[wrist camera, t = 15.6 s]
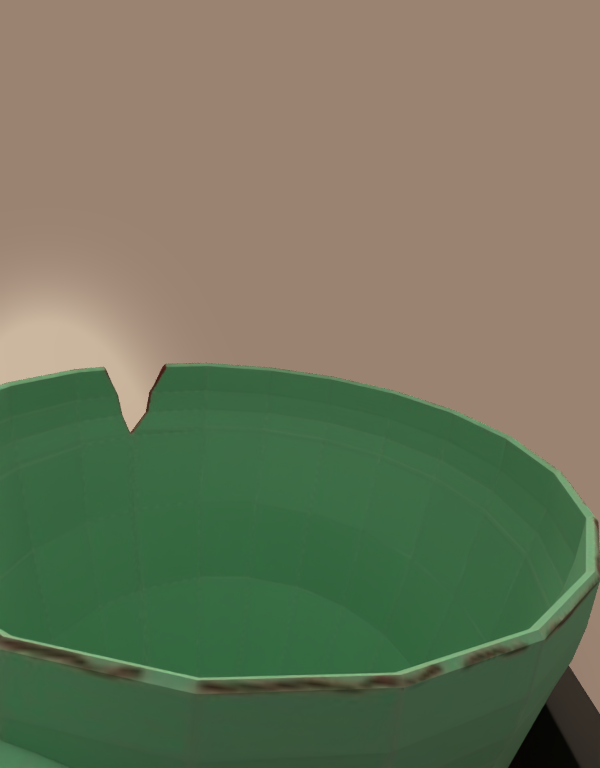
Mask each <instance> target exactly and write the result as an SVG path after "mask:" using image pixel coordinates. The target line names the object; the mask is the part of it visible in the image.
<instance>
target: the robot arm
mask: <svg viewBox="0 0 600 768" xmlns="http://www.w3.org/2000/svg"><path fill="white" fill-rule="evenodd" d="M508 768H600V714H599V712H598V711H597V709H596V707H595V706H594V704H593V703H592V701H591V700H590V698H589V697H588V695H587V693H586V692H585V691H584V689H583V687H582V686H581V684H580V682H579V681H578V679H577V678H576V676H575V675H574V673H573V672H572V670H571V668H570V667H569V665H568V667H567V669H566V670H565V672H564V673H563V675H562V676H561V678H560V679H559V681H558V682H557V684H556V685H555V687H554V689H553V690H552V692H551V694H550V695H549V697H548V699H547V701H546V702H545V704H544V706H543V708H542V709H541V711H540V713H539V715H538V716H537V718H536V720H535V721H534V723H533V725H532V727H531V728H530V730H529V732H528V734H527V735H526V737H525V739H524V741H523V742H522V744H521V746H520V748H519V749H518V751H517V753H516V754H515V756H514V758H513V760H512V761H511V763H510V765H509V767H508Z"/></svg>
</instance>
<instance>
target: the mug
mask: <svg viewBox="0 0 600 768" xmlns="http://www.w3.org/2000/svg"><path fill="white" fill-rule="evenodd" d="M599 582H600V550H599V528H598V520H597V519H596V518H595V516H594V515H593V514H592V512H591V511H590V510H589V508H588V507H587V506H586V504H585V503H584V502H583V500H582V499H581V498H580V496H579V495H578V494H577V492H576V491H575V490H574V488H573V487H572V486H571V484H570V483H569V482H568V480H567V479H566V478H565V476H564V475H563V474H562V473H561V472H560V471H559V470H558V469H556V468H555V467H553V466H552V465H551V464H549V463H548V462H546V461H545V460H544V459H542V458H541V457H539V456H538V455H536V454H535V453H534V452H532V451H531V450H529V449H528V448H526V447H525V446H524V445H522V444H521V443H519V442H518V441H516V440H515V439H513V438H512V437H511V436H509V435H506V434H504V433H502V432H500V431H498V430H496V429H494V428H491V427H489V426H487V425H485V424H483V423H481V422H478V421H476V420H474V419H472V418H470V417H468V416H465V415H463V414H461V413H459V412H457V411H455V410H452V409H449V408H446V407H443V406H440V405H436V404H434V403H431V402H427V401H424V400H421V399H418V398H415V397H412V396H409V395H406V394H403V393H400V392H397V391H393V390H389V389H385V388H380V387H376V386H372V385H367V384H362V383H358V382H354V381H350V380H345V379H341V378H337V377H331V376H324V375H317V374H310V373H304V372H296V371H290V370H284V369H276V368H267V367H254V366H239V365H227V364H213V363H188V364H187V363H186V364H165V365H164V366H163V367H162V369H161V371H160V373H159V375H158V378H157V380H156V382H155V384H154V386H153V387H152V389H151V390H150V392H149V397H148V403H147V409H146V413H145V414H144V415H143V417H142V418H141V419H140V421H139V422H138V423H137V425H136V426H135V427H134V429H133V430H132V431H131V432H129V430H128V427H127V425H126V422H125V420H124V418H123V416H122V412H121V408H120V403H119V399H118V395H117V392H116V390H115V388H114V387H113V384H112V382H111V380H110V378H109V376H108V373H107V371H106V369H105V368H104V367H96V368H85V369H74V370H70V371H64V372H59V373H54V374H49V375H44V376H38V377H33V378H28V379H23V380H18V381H13V382H8V383H4V384H2V385H0V768H508V767H509V765H510V763H511V761H512V760H513V758H514V756H515V754H516V753H517V751H518V749H519V748H520V746H521V744H522V742H523V741H524V739H525V737H526V735H527V734H528V732H529V730H530V728H531V727H532V725H533V723H534V721H535V720H536V718H537V716H538V715H539V713H540V711H541V709H542V708H543V706H544V704H545V702H546V701H547V699H548V697H549V695H550V694H551V692H552V690H553V689H554V687H555V685H556V684H557V682H558V681H559V679H560V678H561V676H562V675H563V673H564V672H565V670H566V669H567V667H568V665H569V664H570V662H571V661H572V659H573V657H574V655H575V652H576V650H577V648H578V645H579V643H580V641H581V639H582V636H583V634H584V632H585V629H586V627H587V624H588V620H589V617H590V613H591V610H592V606H593V603H594V600H595V596H596V592H597V589H598V585H599Z"/></svg>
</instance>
